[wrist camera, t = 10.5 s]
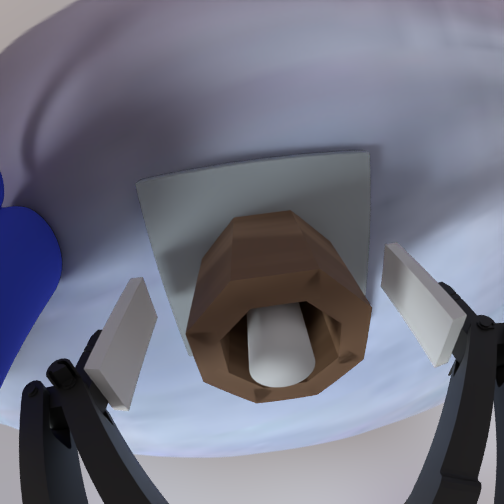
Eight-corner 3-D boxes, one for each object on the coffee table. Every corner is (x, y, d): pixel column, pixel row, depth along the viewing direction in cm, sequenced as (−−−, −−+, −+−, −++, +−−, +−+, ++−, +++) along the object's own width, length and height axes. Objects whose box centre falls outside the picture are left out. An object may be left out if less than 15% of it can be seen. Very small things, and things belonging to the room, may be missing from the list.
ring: (219, 327, 18) (214, 406, 12) (194, 223, 15) (169, 288, 9) (329, 312, 18) (357, 386, 12) (329, 205, 15) (377, 260, 9)
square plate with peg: (190, 346, 20) (176, 443, 13) (141, 179, 14) (63, 240, 7) (356, 323, 20) (396, 412, 12) (362, 150, 14) (456, 187, 7)
